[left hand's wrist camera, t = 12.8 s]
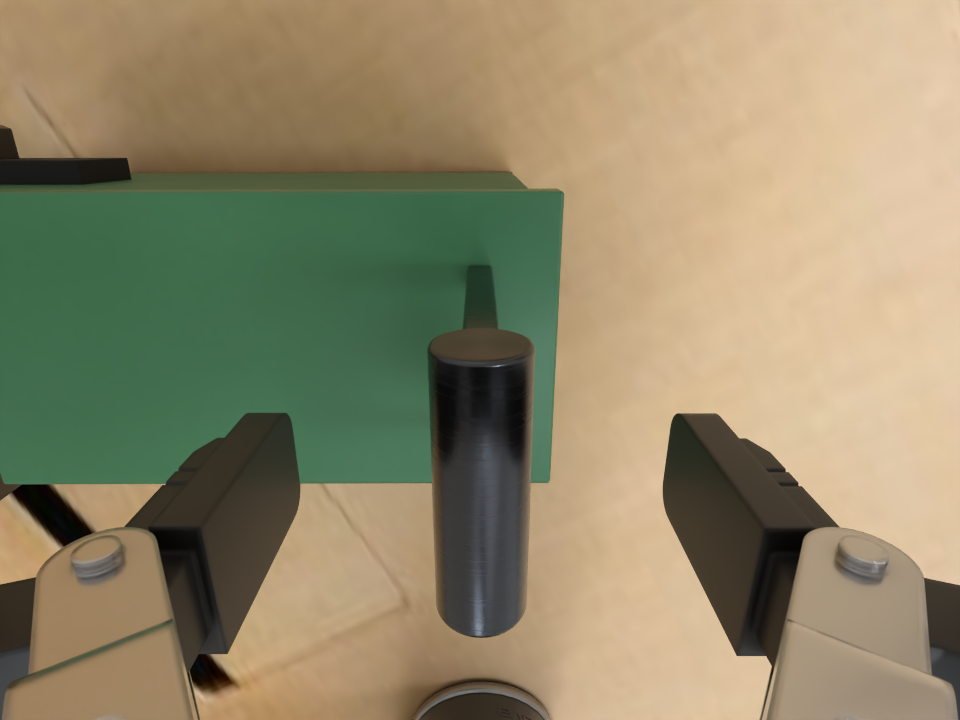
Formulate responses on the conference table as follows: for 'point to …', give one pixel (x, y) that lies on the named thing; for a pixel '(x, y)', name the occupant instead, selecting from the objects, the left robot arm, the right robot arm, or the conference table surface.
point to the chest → (298, 181)
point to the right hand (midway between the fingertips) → (137, 311)
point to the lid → (295, 348)
